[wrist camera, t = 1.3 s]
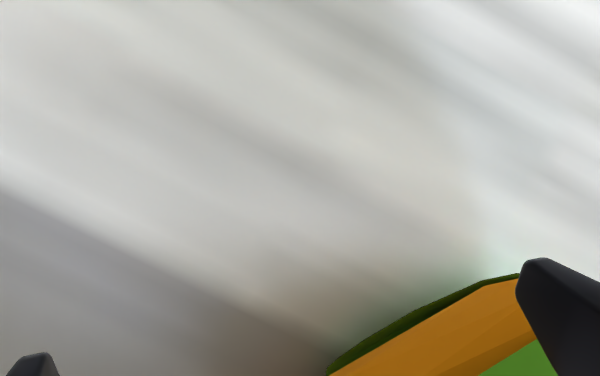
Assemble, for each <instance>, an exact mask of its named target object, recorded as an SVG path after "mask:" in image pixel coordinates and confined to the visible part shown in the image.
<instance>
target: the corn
mask: <svg viewBox="0 0 600 376" xmlns="http://www.w3.org/2000/svg"><path fill="white" fill-rule="evenodd" d="M519 275H520V273H515V274H511V275H506V276H501V277H497V278H492V279H487V280H483V281H480V282H478V283H475V284H473V285H471V286H469V287H466V288H464V289H462V290H459V291H457V292H455V293H453V294H450V295H448V296H446V297H444V298H441V299H439V300H437V301H435V302H432V303H430V304H428V305H426V306H423V307H421V308H419V309H417V310H414V311H412V312H411V313H409V314H407V315H406V316H404V317H402V318H401V319H399V320H397V321H395V322H394V323H392V324H390V325H389V326H387V327H385V328H384V329H382V330H380V331H378V332H377V333H375V334H373V335H372V336H370V337H368V338H367V339H365V340H363V341H362V342H360V343H359V344H358V345H356V346H355V347H353V348H352V349H350V350H349V351H348V352H346V353H345V354H343V355H342V356H340V357H339V358H338V359H337V360H335V361H334V362H333V363H332V364H331V365H330V366H328V367H327V370H326V376H558V375H557V373H556V372H555V370H554V368H553V367H552V365H551V363H550V361H549V360H548V358H547V356H546V354H545V353H544V351H543V349H542V347H541V345H540V343H539V341H538V339H537V338H536V336H535V334H534V332H533V330H532V328H531V326H530V324H529V323H528V321H527V319H526V317H525V315H524V313H523V311H522V310H521V308H520V306H519V304H518V302H517V300H516V297H515V287H516V284H517V281H518V278H519Z"/></svg>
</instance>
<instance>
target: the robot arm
mask: <svg viewBox="0 0 600 376" xmlns="http://www.w3.org/2000/svg"><path fill="white" fill-rule="evenodd" d="M515 297H516V300H517V302H518V304H519V306H520V308H521V310H522V311H523V313H524V315H525V317H526V319H527V321H528V323H529V324H530V326H531V328H532V330H533V332H534V334H535V336H536V338H537V339H538V341H539V343H540V345H541V347H542V349H543V351H544V353H545V354H546V356H547V358H548V360H549V361H550V363H551V365H552V367H553V368H554V370H555V372H556V373H557V375H558V376H600V282H597V281H595V280H593V279H591V278H589V277H587V276H585V275H583V274H581V273H578V272H576V271H574V270H572V269H570V268H568V267H566V266H564V265H561V264H559V263H557V262H555V261H553V260H551V259H548V258H537V259H531V260H528V261H526V262H525V263H524V264H523V267H522V270H521V272H520V275H519V278H518V281H517V284H516V287H515ZM6 376H60V375H59V373H58V371H57V368H56V366H55V364H54V361H53V359H52V357H51V355H50V354H49V353H47V352H46V353H45V352H43V353H38V354H33V355H27V356H24V357H22V358H20V359H19V360H18V361H17V362H16V363H15V365H14V366H13V367H12V368H11V370H10V371H9V372H8V373H7V375H6Z"/></svg>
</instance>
